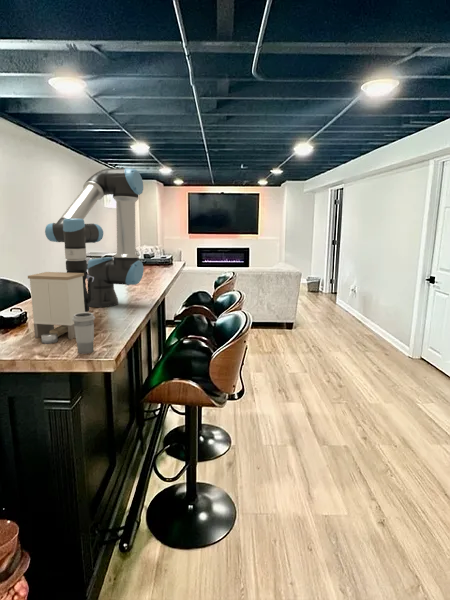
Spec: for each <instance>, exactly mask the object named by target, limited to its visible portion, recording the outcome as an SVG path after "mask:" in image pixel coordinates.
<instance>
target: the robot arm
mask: <svg viewBox="0 0 450 600" xmlns="http://www.w3.org/2000/svg"><path fill="white" fill-rule="evenodd" d="M143 191H144V183H143V178H142V176H141V173H140V172H139V171H138V170H137V169H136V168H129V167H123V168H104V169H101V170H99V171H97V172H95V173H94V174H92V175H91V176H90V177H89V178H87V180H86V181H85V183H84V184H83V186H82V190H81V191H80V193H78V195H77V196H76V198H74V200H73V202H72V203H71V204H70V205H69V206H68V208H67V209H66V211H64V213H63V214H62V215H61V217H60V218H59V219H58V220H57V222H51V223H48V224H46V226H45V229H44V233H45V236H46V239H47V240H48V241H49V242H53V243H54V242H55V243H64V255H65V258H64V259H66V260H65V269H66V272H65V273H84V276H83V292H84V308H85V312H88V313H89V312H90V308H107V307H114V306H117V305H119V298H118V295H117V293H116V291H115V285H122V286H123V285H125V286H136V285H137V284H139V283H140V282H141V280H142V278H143V275H144V270H145V269H144V268H145V267H144V264H143V262H142V261H141V260H140V257H139V256H138V254H136V202H137V201H138V200H139V196H140V195H141V194H143ZM108 195H112V199H113V200H114V201H115V202H116V203H115V204H116V206H115V207H116V254H114V256H108V257H106V256H105V257H98V258H92V259H89V260H88V261H87V260H86V259H87V244H93V243H94V244H96V243H98V242H100V241H101V240H103V239H104V230H103V228H102V227H101V225H99V224H98V223H85V218H86V217H87V215H88V214H89V213H90V211H91V209H93V207H94V205H96V203H97V202H98V201H99V200H102V198H104V197H105V196H108ZM86 281H87V282H86ZM86 283H87V284H86Z"/></svg>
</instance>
